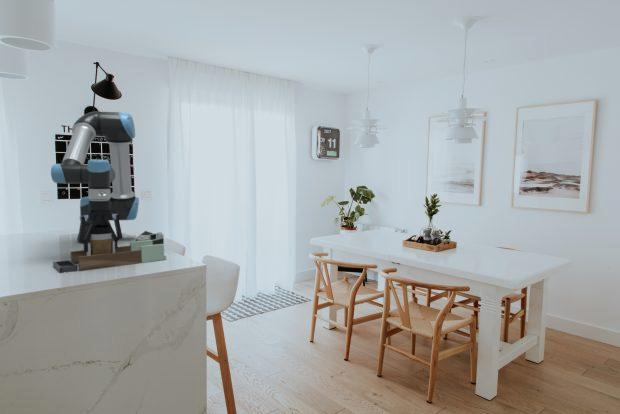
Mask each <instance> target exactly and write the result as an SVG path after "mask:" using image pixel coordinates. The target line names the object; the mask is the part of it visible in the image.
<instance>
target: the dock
mask: <svg viewBox="0 0 620 414" xmlns="http://www.w3.org/2000/svg"><path fill="white" fill-rule="evenodd" d="M129 246H131V251H135V250H142V263H151V262H159V261H165V260H166V261H167V255H165V243H164V244H157V245H153V240H146V241H136V242H134V241H130V242H129ZM142 263H141V264H142Z"/></svg>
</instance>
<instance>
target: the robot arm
mask: <svg viewBox="0 0 620 414" xmlns="http://www.w3.org/2000/svg"><path fill="white" fill-rule="evenodd" d="M71 132H72V136H71V138H70V141H69V143H68V146H67V148H66V151H65V153H64V156H63V158H62V160H61V163H56V164H55V163H54V164H52V166H51V169H50V176H51V180H52V182H54V183H55V184H66V185H67V184H69V185H70V184H76V185H77V184H78V185H79V184H87V186H88V187H87V188H88V190H87V191H88V196H83V197H81V199H80V202H79V203H80V204H79V209H80V211H79V214H80V216H79V221H80V223H79V230H78V234H77V236H76V237H77V238H76V243H78V244H82V245H83V250H84V252H87V256H90V255H91V245H90V240H89V239H90V237H91V234H90V232H91V228H95V227H96V225H106V227H107V228H108V227H111V229H112V233H111V238H112V242H111V253H115V249H117V248H118V247H119V246H118V241H119V240H121V239H123V233H122V228H121V224H120V221H125V222H126V221H134V220H136V219H137V216H138V212H139V211H138V210H139V203H140V202H139V199H140V198H139V197H137V196H136V193H135V192H134V191H133V189H132V174H131V159H130V158H131V155H130V144H132V142H133V139H134V138H136V128H135V123H134V119H133V117H132V115H131V114H130V113H127V112H120V111H97V110H95V111H90V112H87V113H85V114H83V115H81V116H80V117H79V118H77V119H76V121H75V122H74V124H73V125H72V128H71ZM96 137H97V138H98V137H100V138H101V137H102V138H105V142H106V143H107V144H108V145H109V155H110V161H109V160H108V159H88V160H87V164H85V161H86V158H87V155H88V152H89V149H90V146H91V143H92V141H93V140H95V138H96ZM111 183H112V191H111ZM110 221H113V222H114V227H115V230H114V229H113V227H112V225H111V222H110ZM115 231H116V232H115Z"/></svg>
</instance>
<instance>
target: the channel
mask: <svg viewBox="0 0 620 414" xmlns="http://www.w3.org/2000/svg"><path fill="white" fill-rule="evenodd" d="M70 261H72V262H73V263H74V264H76V265H78V271H79V272H82V271H90V270H91V271H92V270H98V269H105V268H113V267H120V266H128V265H129V266H130V265H136V264H142V250H135V251H131V246H130V245H124V246H121V245H120V246H118V248H117V249H115V253H108V254H99V255H90V256H87V252H84V249H82V250H73V251H70Z"/></svg>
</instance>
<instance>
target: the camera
mask: <svg viewBox="0 0 620 414" xmlns="http://www.w3.org/2000/svg"><path fill="white" fill-rule="evenodd" d="M164 236H165V235H164V234H163V232H160V231H159V232H156V233H154V232H153V233H152V232H151V231H147V230H144V231H143V232H141V233H140V234H139V235H138V237H137V239H135V240H134V241H133V242H136V241H146V240H153V245H157V244H164V245H165V243H164V239H165V237H164Z"/></svg>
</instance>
